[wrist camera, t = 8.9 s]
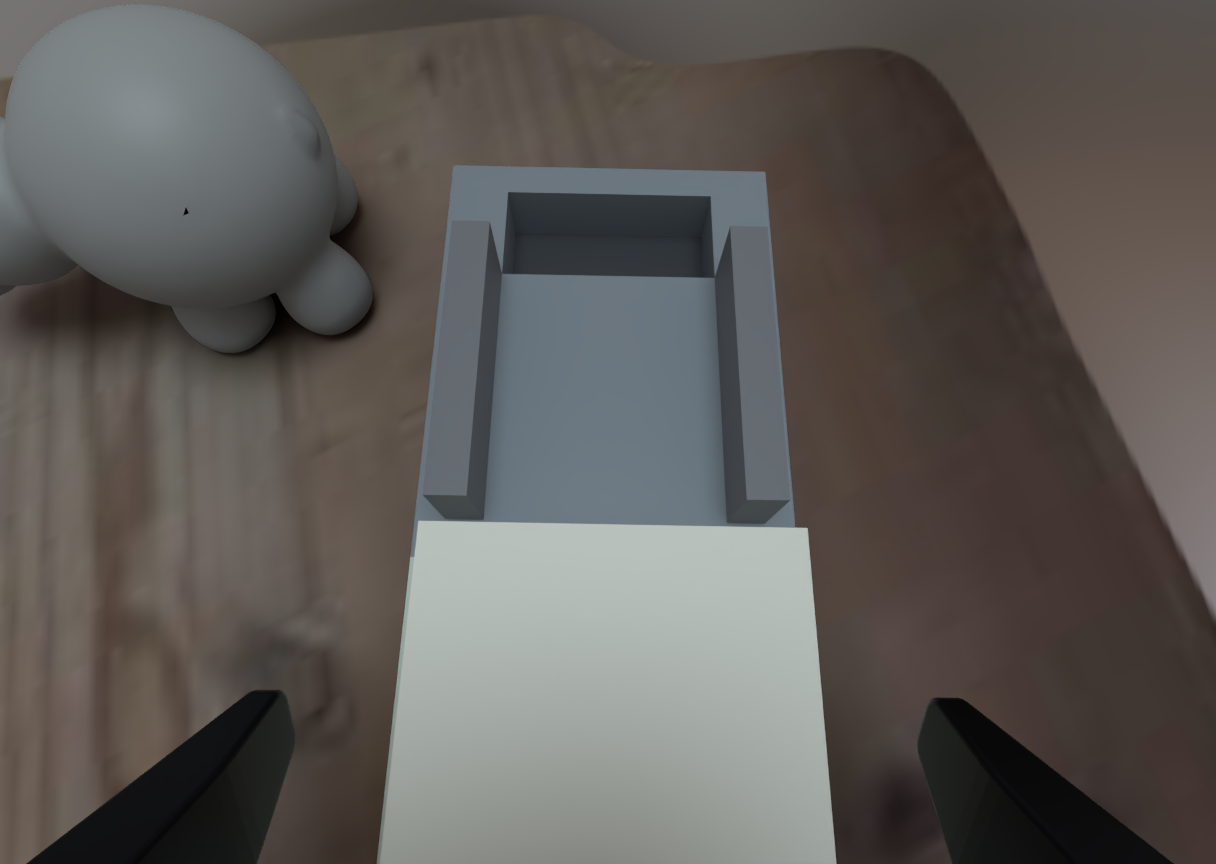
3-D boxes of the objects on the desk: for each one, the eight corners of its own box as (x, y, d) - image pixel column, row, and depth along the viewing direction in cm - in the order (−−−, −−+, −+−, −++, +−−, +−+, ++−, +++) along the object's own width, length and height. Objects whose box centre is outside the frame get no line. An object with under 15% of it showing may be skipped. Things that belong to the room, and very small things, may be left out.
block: (695, 807, 16) (848, 1004, 6) (504, 805, 16) (365, 999, 6) (691, 611, 17) (807, 528, 8) (516, 607, 17) (418, 520, 8)
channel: (800, 943, 17) (879, 1046, 12) (396, 940, 17) (318, 1042, 12) (748, 221, 24) (785, 110, 19) (467, 215, 24) (436, 102, 19)
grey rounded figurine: (18, 219, 24) (-294, -29, 15) (378, 171, 25) (267, -86, 16) (-8, 416, 21) (-398, 246, 13) (393, 354, 22) (272, 159, 14)
